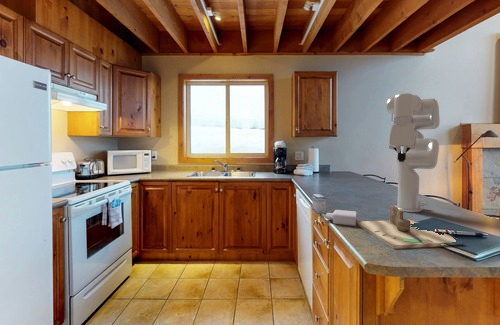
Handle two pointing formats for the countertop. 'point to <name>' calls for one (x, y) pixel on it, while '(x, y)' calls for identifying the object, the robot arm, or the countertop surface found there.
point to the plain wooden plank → (400, 220)
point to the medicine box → (318, 204)
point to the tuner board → (403, 235)
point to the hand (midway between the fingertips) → (401, 161)
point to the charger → (342, 217)
